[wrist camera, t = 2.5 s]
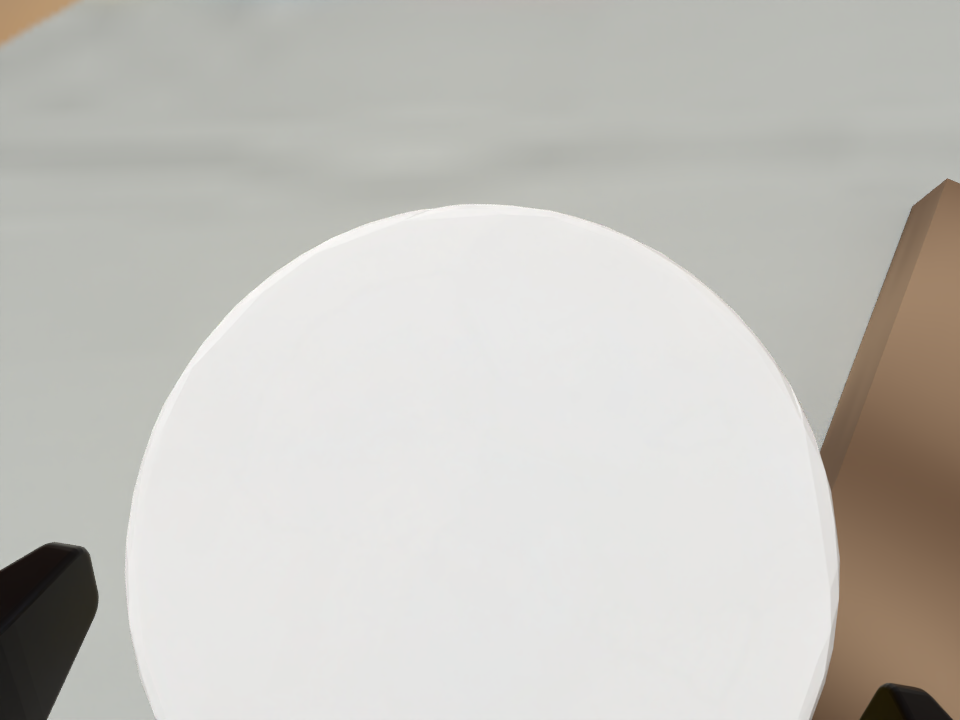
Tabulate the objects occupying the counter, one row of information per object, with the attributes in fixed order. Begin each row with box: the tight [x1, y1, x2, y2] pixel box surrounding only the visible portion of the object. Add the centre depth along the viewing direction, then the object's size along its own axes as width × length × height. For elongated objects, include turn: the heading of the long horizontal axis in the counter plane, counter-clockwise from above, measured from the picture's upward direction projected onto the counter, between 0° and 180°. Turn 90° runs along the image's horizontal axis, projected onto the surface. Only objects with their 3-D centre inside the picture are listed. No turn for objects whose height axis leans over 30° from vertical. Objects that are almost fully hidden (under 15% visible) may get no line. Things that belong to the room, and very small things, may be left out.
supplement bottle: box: [125, 204, 840, 720], centre depth 11 cm, size 7×7×13 cm
